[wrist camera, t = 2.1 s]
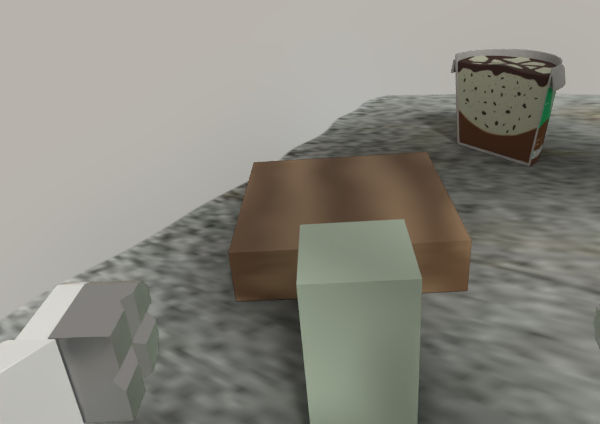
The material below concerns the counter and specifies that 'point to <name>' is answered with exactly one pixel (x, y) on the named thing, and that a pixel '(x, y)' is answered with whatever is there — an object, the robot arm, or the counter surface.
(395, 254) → the sage block
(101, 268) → the counter surface
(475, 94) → the food container
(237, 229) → the walnut base
